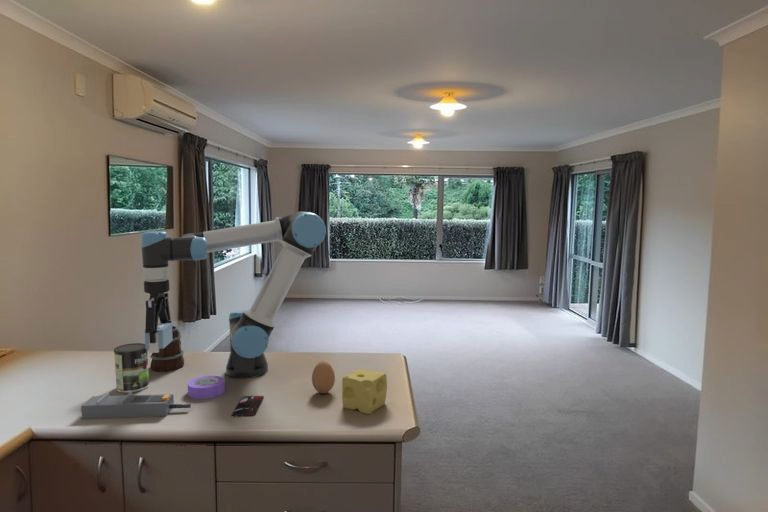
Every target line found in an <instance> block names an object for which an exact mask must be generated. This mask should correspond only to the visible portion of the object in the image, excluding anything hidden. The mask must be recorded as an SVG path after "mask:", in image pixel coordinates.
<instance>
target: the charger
mask: <svg viewBox="0 0 768 512" xmlns="http://www.w3.org/2000/svg"><path fill="white" fill-rule="evenodd" d="M172 326H173V323H172V322H171V323H160V322H158V326H157V332H158V337H159V349H164V348H165V347H166V346H167V345H168V344H169V343H170V342H172V341H173V336H172ZM151 329H152V328H151ZM144 341H145V343H144V344H145V347H146V349H147V350H149V333H145V332H144Z"/></svg>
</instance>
